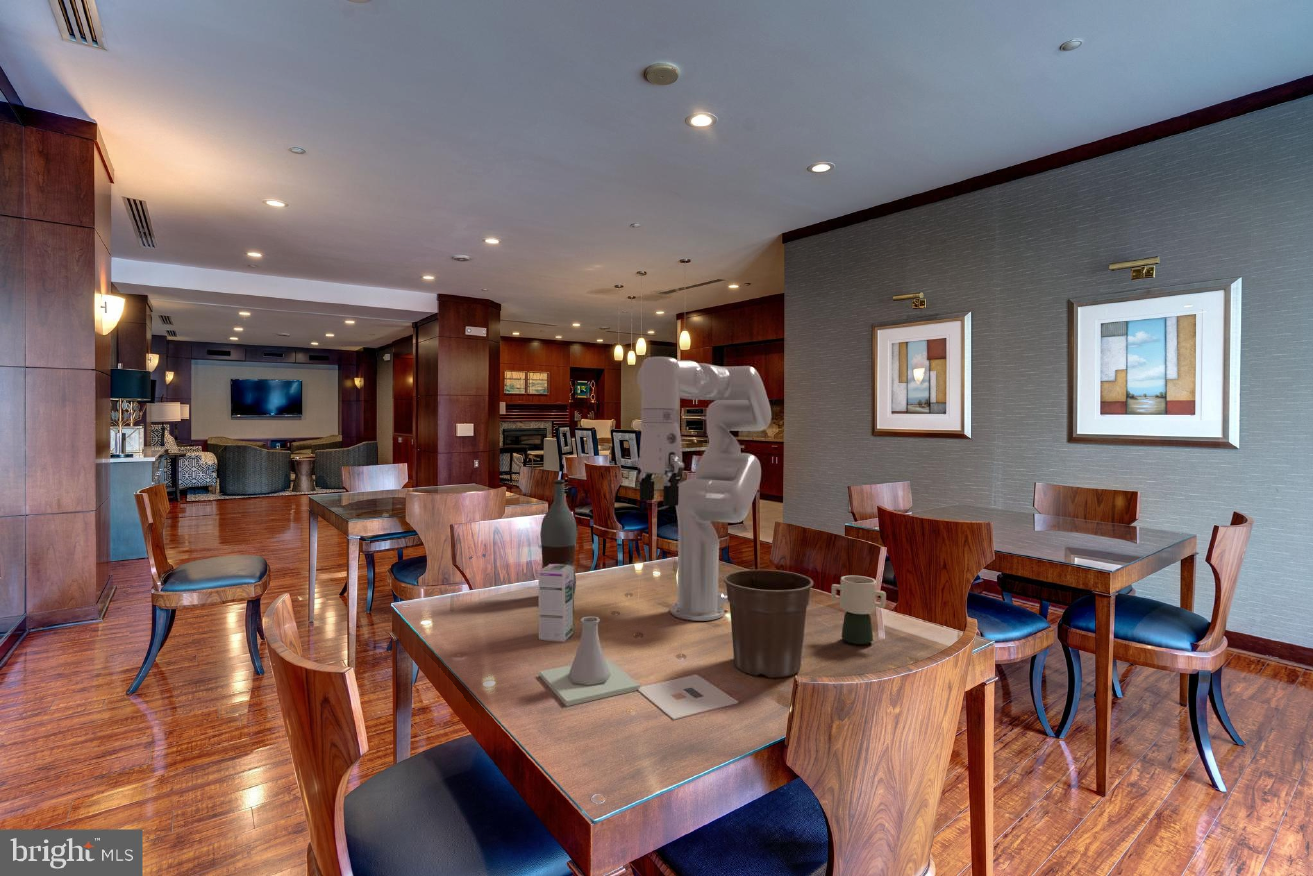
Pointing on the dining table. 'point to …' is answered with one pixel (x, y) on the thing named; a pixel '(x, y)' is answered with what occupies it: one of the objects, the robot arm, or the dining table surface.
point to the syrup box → (556, 602)
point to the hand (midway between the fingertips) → (658, 502)
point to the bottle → (558, 532)
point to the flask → (589, 656)
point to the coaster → (585, 693)
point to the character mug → (858, 607)
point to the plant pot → (768, 620)
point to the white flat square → (686, 696)
